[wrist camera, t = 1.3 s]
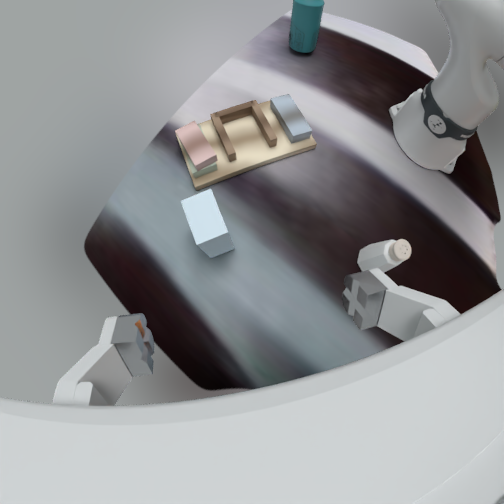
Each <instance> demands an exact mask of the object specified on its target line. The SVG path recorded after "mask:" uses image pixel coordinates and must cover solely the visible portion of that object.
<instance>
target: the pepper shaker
mask: <svg viewBox="0 0 504 504" xmlns="http://www.w3.org/2000/svg"><path fill="white" fill-rule="evenodd" d="M410 255H411V246H410V244H409V243H408V241H406V240H404V239H399V240H397V241H395V240H387V241H383V242H378V243H374V244H369V245H368V246H366V247H365V248H363V249H361V250H360V252H359V257H358V261H357V263H358V265H359V267H360V269H361V271H362V272H363V271H366V270H369V269H372V268H379V269H380V270H381V271H382V272H383V273H384V272H386V271H388V270H390V269H392V268H394V267H396V266H397V265H399V264H400V263H402V262H403V261H404V260H407V259H408V258H409V257H410Z"/></svg>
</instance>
